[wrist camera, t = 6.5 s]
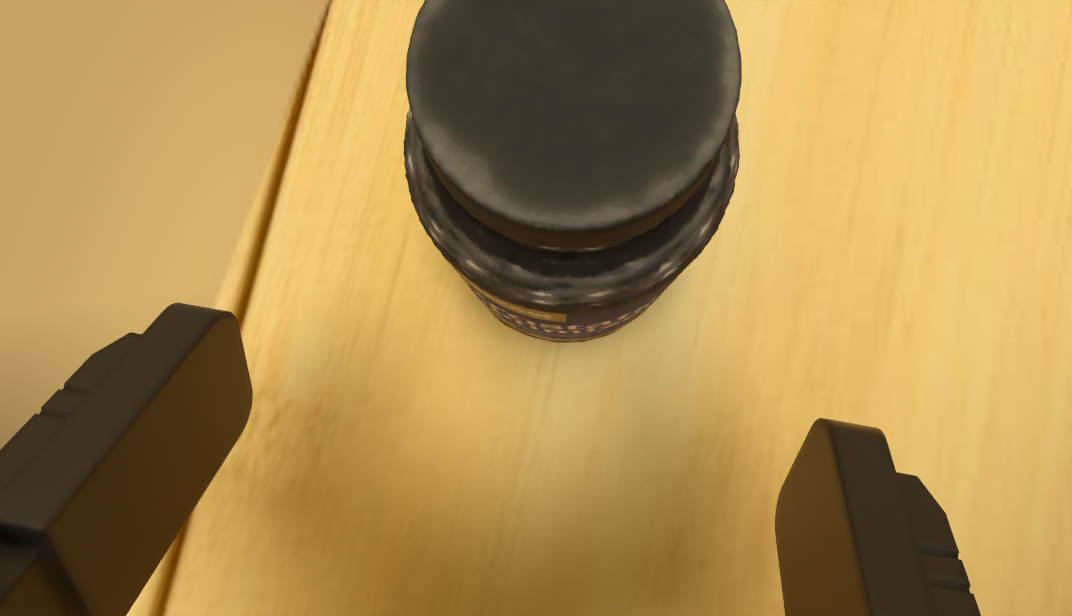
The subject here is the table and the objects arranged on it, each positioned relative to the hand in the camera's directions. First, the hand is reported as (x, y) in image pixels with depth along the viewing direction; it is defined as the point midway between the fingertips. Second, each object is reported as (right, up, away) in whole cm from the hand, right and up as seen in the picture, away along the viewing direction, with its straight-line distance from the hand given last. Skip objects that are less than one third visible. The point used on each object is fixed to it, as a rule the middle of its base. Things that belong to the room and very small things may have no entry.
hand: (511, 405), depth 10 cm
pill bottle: (+1, +3, +11) cm, 11 cm away
